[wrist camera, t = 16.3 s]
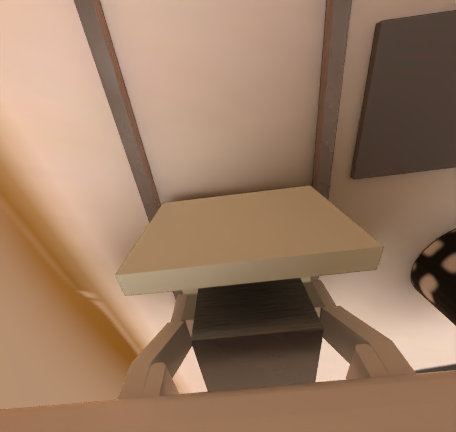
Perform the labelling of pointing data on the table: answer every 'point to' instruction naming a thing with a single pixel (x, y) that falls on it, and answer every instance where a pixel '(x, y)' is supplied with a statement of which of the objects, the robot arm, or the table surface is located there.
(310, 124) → the table surface
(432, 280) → the white-spotted black cylinder
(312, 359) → the steel block
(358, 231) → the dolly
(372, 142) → the station pad
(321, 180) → the track
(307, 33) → the table surface
